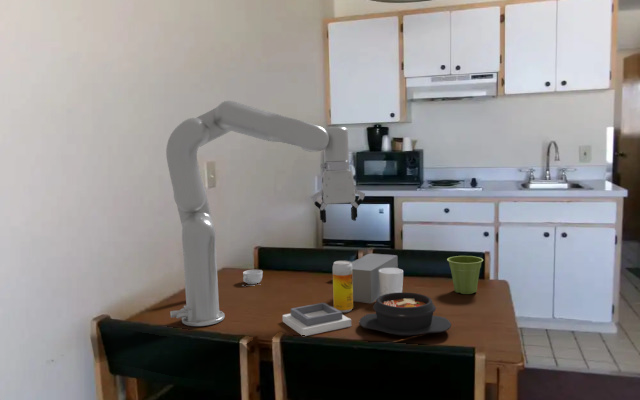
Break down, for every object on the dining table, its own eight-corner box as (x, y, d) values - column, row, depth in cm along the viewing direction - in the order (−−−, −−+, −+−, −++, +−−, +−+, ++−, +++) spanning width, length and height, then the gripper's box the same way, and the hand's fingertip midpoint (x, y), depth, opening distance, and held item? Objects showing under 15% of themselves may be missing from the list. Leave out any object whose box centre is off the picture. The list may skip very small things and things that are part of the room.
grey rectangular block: (340, 278, 200) (339, 251, 199) (398, 284, 189) (397, 255, 187) (308, 296, 178) (307, 264, 177) (371, 304, 167) (370, 270, 166)
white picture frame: (303, 336, 139) (302, 322, 139) (282, 321, 151) (282, 308, 151) (351, 326, 146) (351, 312, 145) (327, 312, 158) (327, 300, 158)
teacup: (252, 279, 203) (252, 267, 202) (272, 282, 197) (271, 270, 197) (234, 285, 195) (233, 273, 194) (253, 288, 189) (253, 276, 188)
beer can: (351, 313, 157) (350, 264, 156) (332, 312, 158) (330, 264, 157) (354, 307, 163) (353, 260, 162) (335, 306, 164) (334, 260, 163)
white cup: (374, 301, 169) (373, 271, 168) (387, 295, 174) (387, 266, 173) (394, 305, 163) (394, 274, 162) (407, 299, 169) (407, 270, 168)
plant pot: (469, 285, 184) (469, 254, 183) (490, 294, 173) (490, 260, 172) (440, 289, 181) (440, 257, 179) (460, 298, 169) (459, 264, 168)
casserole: (353, 338, 136) (353, 307, 136) (364, 316, 154) (363, 288, 154) (451, 344, 131) (451, 312, 130) (450, 320, 149) (450, 291, 148)
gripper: (312, 168, 156) (314, 224, 158) (367, 166, 160) (368, 221, 161) (307, 167, 164) (309, 221, 165) (360, 165, 167) (362, 218, 169)
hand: (338, 221), depth 163 cm, fingers open, 9 cm apart
